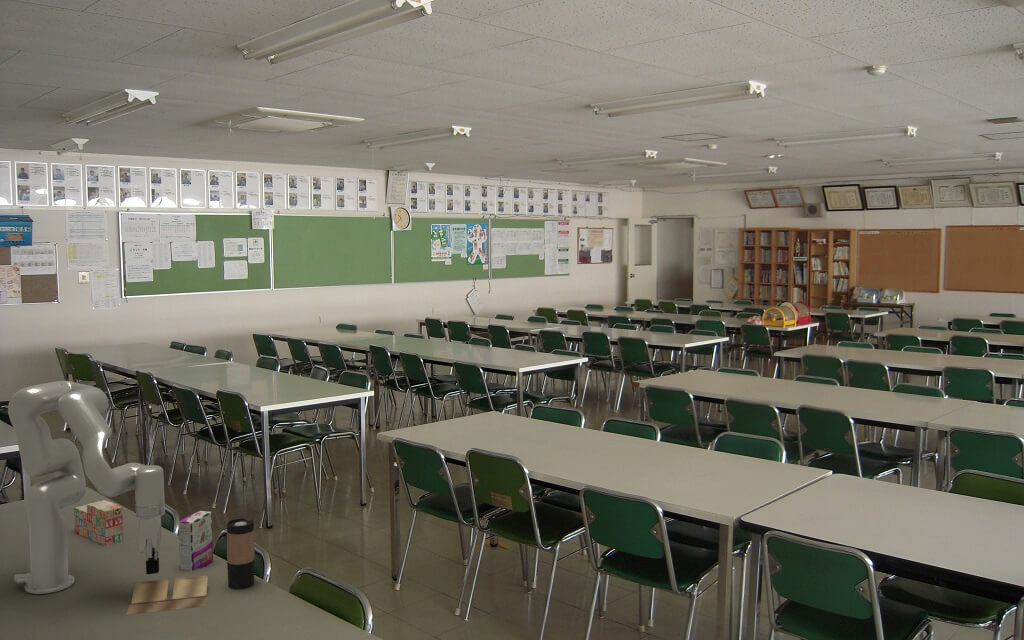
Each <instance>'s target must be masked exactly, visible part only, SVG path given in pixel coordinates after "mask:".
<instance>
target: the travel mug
mask: <svg viewBox="0 0 1024 640" xmlns="http://www.w3.org/2000/svg"><path fill="white" fill-rule="evenodd" d="M254 523H255V522H254V519H249V520H247V519H246V518H242V517H241V518H240V517H239V518H234V519H231V520H229V521H227V523H226V539H227V540H226V558H227V559H226V564H227V567H226V569H227V585H228V588H229V589H231V590H245V589H248V588H251V587H253V585H254V584H255V561H256V560H255V556H256V555H255V524H254Z"/></svg>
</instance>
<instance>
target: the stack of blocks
mask: <svg viewBox="0 0 1024 640" xmlns="http://www.w3.org/2000/svg"><path fill="white" fill-rule="evenodd" d="M123 509H124V508H123V506H121V505H118V504H117V503H115V502H111V501H108V500H104V499H103V500H99V501H96V502H91V503H87V504H84V505H81V506H76V507H74V508H73V512H74V513H73V514H74V527H75V528H74V529H75V531H74V532H75V533H76V534H77V535H78V534H79V535H80V536H82V537H84V538H85V539H89V540H91V541H94V542H96V543H97V542H98V544H100V545H101V546H104V545H105V547H107V546H109V545H108V544H110V545H113V544H112V543H114V544H116V543H115V542H117V543H120V542H119V541H121V540H124V533H123V531H124V530H123V523H124V522H123V519H124V517H123V516H124V515H123ZM121 542H122V541H121ZM106 545H107V546H106Z"/></svg>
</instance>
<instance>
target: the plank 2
mask: <svg viewBox="0 0 1024 640" xmlns="http://www.w3.org/2000/svg"><path fill="white" fill-rule="evenodd" d="M208 581H209V576H208V574H207V575H198V576H190V577H189V576H187V577H178V578H174V580H173V588H172V589H173V590H172V599H180V598H190V597H199V596H208V584H209V582H208Z"/></svg>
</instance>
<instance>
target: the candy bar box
mask: <svg viewBox="0 0 1024 640" xmlns="http://www.w3.org/2000/svg"><path fill="white" fill-rule="evenodd" d="M177 525H178V545H179V546H178V549H179V551H178V552H179V571H183V570H184V571H185V570H186V571H194V570H196V569H203V568H204V567H206V566H207V565H209V564H210V563H212V562H213V561H214V548H213V547H214V545H213V515H212V511H208V510H207V511H206V510H198V511H195V512H194V513H192V514H191V515H188V516H187V517H185V518H182V519H181V520H179V521H178V524H177Z"/></svg>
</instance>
